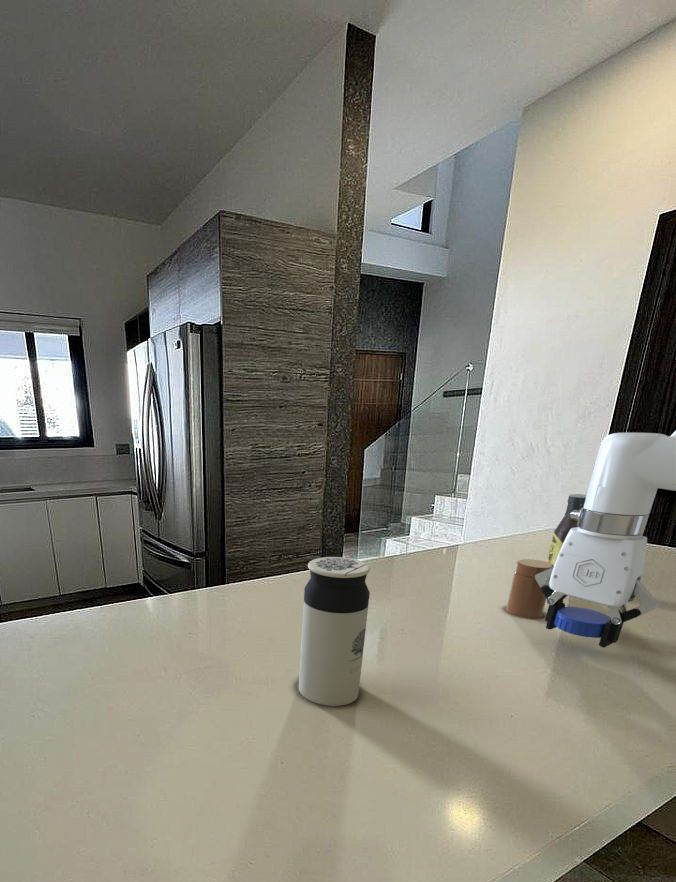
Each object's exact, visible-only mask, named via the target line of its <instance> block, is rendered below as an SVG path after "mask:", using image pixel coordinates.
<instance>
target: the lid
mask: <svg viewBox="0 0 676 882" xmlns="http://www.w3.org/2000/svg"><path fill="white" fill-rule="evenodd" d="M608 621H610V615H607V614H605V613H603V612H600V611H598V610H593V609H589V608H585V607H578V606H565V607H562V608H559V609H558V611H557V613H556V616H555V620H554V624H555V626H556V628H557V629H559V630H561V631H563V632H565V633H568V634H571V635H574V636H577V637H578V636H579V637H585V638H593V639H597V638H600V639H601V636H602V633H603V629H604V626H605V623H606V622H608Z"/></svg>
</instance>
